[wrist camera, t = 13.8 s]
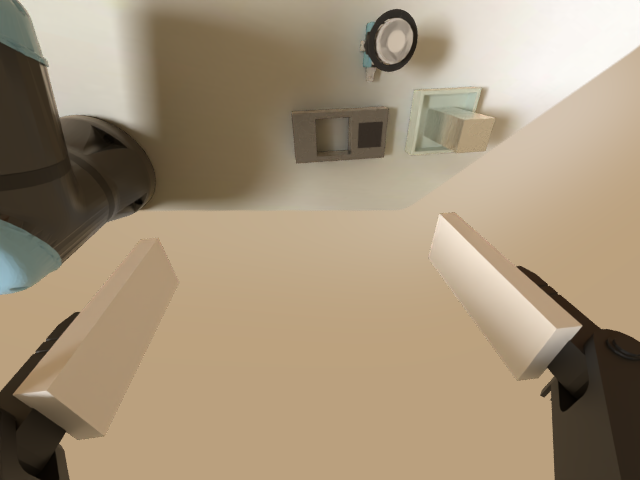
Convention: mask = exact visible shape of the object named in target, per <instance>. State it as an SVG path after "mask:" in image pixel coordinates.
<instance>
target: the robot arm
mask: <svg viewBox="0 0 640 480" xmlns="http://www.w3.org/2000/svg"><path fill="white" fill-rule="evenodd" d="M46 66H47V67H49V65H48V62H47V60H46V59H45V58H44V57H43V55H42V52H41V49H40V45H39V42H38V39H37V36H36V33H35V29H34V26H33V23H32V20H31V18H30V16H29V14H28V12H27V11H26V9H25V8H24V7H23V5H22V4H21V3H20V2H19V1H18V0H0V295H2V294H10V293H15V292H19V291H22V290H25V289H27V288H29V287H31V286H33V285H34V284H36V283H37V282H39V281H40V280H41V279H42V278H44V277H45V276H46V275H47V274H49V273H50V272H53V271H54V270H57V269H58V268H59V267H60V266H61V264H62V263H63V262H64V261H65V260H66V259H68V258H69V257H70V256H71V255H72V254H73V253H74V252H75V251H76V250H77V249H78V248H79V247H80V246H82V245H83V244H84V243H85V242H86V241H87V240H88V239H89V238H90V237H91V236H92V235H93V234H94V233H96V232H97V231H98V230H99V229H100V228H101V227H102V226H103V225H104V224H105V223H106V222H109V221H112V220H116V219H119V218H122V217H125V216H129V215H131V214H133V213H135V212H137V211H138V210H140V209H141V208H142V207H143V206H144V205H145V204H146V203H147V202H148V201H149V200H150V198H151V197H152V195H153V193H154V189H155V174H154V170H153V167H152V164H151V162H150V160H149V158H148V157H147V155H146V154H145V152H144V151H143V149H142V148H141V147H140V146H139V145H138V144H137V143H136V142H135V141H134V140H133V139H132V138H131V137H130V136H129V135H127V134H126V133H125V132H123V131H122V130H120V129H119V128H117V127H116V126H114V125H112V124H110V123H108V122H105V121H103V120H100V119H97V118H93V117H89V116H83V115H71V116H64V117H60V118H59V115H58V111H57V107H56V103H55V99H54V95H53V91H52V87H51V83H50V79H49V75H48V71H47V67H46ZM428 259H429V260H430V261H431V263H432V264H433V265H434V267H435V268H436V270H437V271H438V273H439V274H440V275H441V277H442V278H443V279H444V281H445V282H446V283H447V285H448V286H449V288H450V289H451V291H452V292H453V293H454V295H455V296H456V297H457V299H458V300H459V302H460V303H461V304H462V306H463V307H464V308H465V310H466V311H467V313H468V314H469V315H470V317H471V318H472V319H473V321H474V322H475V324H476V325H477V326H478V328H479V329H480V330H481V332H482V333H483V335H484V336H485V337H486V339H487V340H488V341H489V343H490V344H491V345H492V347H493V348H494V350H495V351H496V352H497V354H498V355H499V356H500V358H501V359H502V361H503V362H504V363H505V365H506V366H507V368H508V369H509V370H510V372H511V373H512V374H513V376H514V377H515V379H516V380H517V381H520V380H527V379H535V378H539V377H540V376H541V374H542V373H543V372H544V371H545V370H546V369H547V368H548V369H549V370H550V371H551V372H552V374H553V375H554V377H553V379H552V380H551V381H550V382H549V383H548V384H547V385H546V386H545V387H544V389H543V390H542V392H541V396H542V397H545V396H546V395H547V394H548V393H549V392H550V391H551V401H552V423H553V447H554V472H555V480H640V342H639V341H637V340H635V339H634V338H632V337H630V336H628V335H626V334H623V333H621V332H618V331H613V330H609V329H600V328H599V327H598V326H597V325H595V324H594V323H593V322H592V321H591V320H589V319H588V318H587V317H586V316H585V315H583V314H582V313H581V312H580V311H579V310H578V309H576V308H575V307H574V306H573V305H572V304H571V303H569V302H568V301H567V300H566V299H565V298H563V297H562V296H561V295H558V294H557V292H556V291H555V290H554V289H553V288H552V287H550V286H548V284H547V283H546V282H544V281H543V280H542V279H541V278H540V277H539V276H537V275H536V274H535V273H533V272H531V271H529V270H527V269H525V268H523V267H522V266H515V265H513V264H512V263H511V262H510V261H509V260H508V259H507V258H506V257H504V256H503V255H502V254H501V253H500V252H499V251H498V250H497V249H495V248H494V247H493V246H492V245H491V244H490V243H489V242H488V241H486V240H485V239H484V238H483V237H482V236H481V235H479V234H478V233H477V232H476V231H475V230H474V229H473V228H472V227H471V226H470V225H468V224H467V223H466V222H465V221H464V220H463V219H462V218H461V217H459V216H458V215H457V214H456V213H454V212H452V213H441V214H439V218H438V221H437V225H436V229H435V233H434V237H433V241H432V245H431V249H430V253H429V257H428ZM178 284H179V281H178V278H177V276H176V274H175V272H174V270H173V268H172V266H171V263H170V261H169V259H168V257H167V255H166V253H165V251H164V248H163V246H162V244H161V242H160V240H159V238H149V239H141V240H140V241H139V242H138V243H137V245H136V246H135V247H134V248H133V249H132V251H131V252H130V253H129V254H128V255H127V257H126V258H125V259H124V260H123V261H122V262H121V264H120V265H119V266H118V268H117V269H116V270H115V271H114V272H113V273H112V275H111V276H110V277H109V278H108V279H107V281H106V282H105V283H104V284H103V286H102V287H101V288H100V289H99V290H98V292H97V293H96V294H95V295H94V296H93V298H92V299H91V300H90V301H89V302H88V304H87V305H86V306H85V307H84V309H83V310H82V311H81V312H75V313H74V314H72V315H71V316H70V317H68V318H67V319H66V320H64V321H63V322H62V323H60V324H59V325H58V326H57V327H56V328H55V330H54V331H53V332H52V333H51V334H50V335H49V336H48V338H47V339H46V342H43V343H42V344H41V346H40V347H39V348H38V349H37V350H36V353H35V354H33V355H32V356H31V357H30V358H29V359H28V361H27V362H26V363H25V364H24V365H23V366H22V367H21V369H20V370H19V371H18V372H17V373H16V374H15V375H14V377H13V378H12V379H11V380H10V381H9V382H8V384H7V385H6V386H5V387H4V388H3V389H2V390H1V392H0V480H69V475H68V470H67V463H66V458H65V452H64V449H63V448H62V446H61V445H60V444H59V442H60V441H61V439H62V438H63V436H64V434H65V433H66V432H67V433H68V434H70V435H71V436H73V437H74V438H76V439H77V440H80V439H88V438H95V437H102V436H105V435H106V433H107V430H108V428H109V426H110V424H111V422H112V420H113V418H114V416H115V414H116V412H117V410H118V408H119V406H120V404H121V402H122V400H123V397H124V395H125V393H126V391H127V389H128V387H129V385H130V383H131V381H132V379H133V377H134V375H135V373H136V371H137V369H138V367H139V365H140V362H141V360H142V358H143V356H144V354H145V352H146V350H147V348H148V346H149V344H150V342H151V340H152V338H153V336H154V334H155V332H156V330H157V327H158V325H159V323H160V321H161V319H162V317H163V315H164V313H165V311H166V309H167V307H168V305H169V303H170V301H171V299H172V297H173V294H174V292H175V290H176V288H177V286H178Z"/></svg>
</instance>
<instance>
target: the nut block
mask: <svg viewBox="0 0 640 480" xmlns="http://www.w3.org/2000/svg"><path fill="white" fill-rule="evenodd" d="M495 119H496V118H494V117H490V116H486V115H482V114H479V113H475V112H471V111H467V110H463V109H460V108H456V107H439V108H428V112H427V117H426V123H425V128H424V134H423V136H425V137H427V138H429V139H431V140H433V141H435V142H437V143H438V144H440V145H442V146H444V147H446V148H448V149H450V150H452V151H453V152H455V153H463V152H477V151H485V150H486V147H487V144H488V141H489V138H490V134H491V131H492V128H493V125H494V122H495Z"/></svg>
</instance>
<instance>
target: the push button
mask: <svg viewBox="0 0 640 480" xmlns="http://www.w3.org/2000/svg"><path fill="white" fill-rule="evenodd" d="M387 19H390V20H389V21H387V22H384V21H386V20H387ZM417 37H418V35H417V27H416V24H415V21H414V19H413V18H412V17H411V15H410V14H409V13H407V12H406V11H404V10H400V9H394V10H390V11H388V12H386V13H384V14H383V15H381V16H380V17H379V18H378V19H377V20H376V22H370V23H368V24H367V26H366V38H365V41H361V44H360V51H364V59H363V67H366V72H367V75H366V81H370V82H373V79H374V72H375V71H376V67H377V68H378V69H380V70H382V71H387V72H392V71H396V70H398V69H400V68H402V67H403V66H404V65H406V64H407V63H408V61H409V60H410V59H411V57H412V55H413V53H414V51H415V48H416V45H417ZM361 45H362V47H361ZM383 62H385V63H388V64H391V65H385V64H383ZM369 77H370V78H369Z"/></svg>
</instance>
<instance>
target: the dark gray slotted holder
mask: <svg viewBox="0 0 640 480" xmlns="http://www.w3.org/2000/svg"><path fill="white" fill-rule="evenodd" d="M388 111H389V109H388V108H386V107H384V106H381V107H363V108H344V109H326V110H308V111H292V122H293V134H294V145H295V157H296V163H308V162H323V161H337V160H352V159H366V158H381V157H384V149H385V140H386V130H387V120H388ZM341 117H349V133H348V150H341V151H326V152H317V146H316V122H315V119H324V118H341Z"/></svg>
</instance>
